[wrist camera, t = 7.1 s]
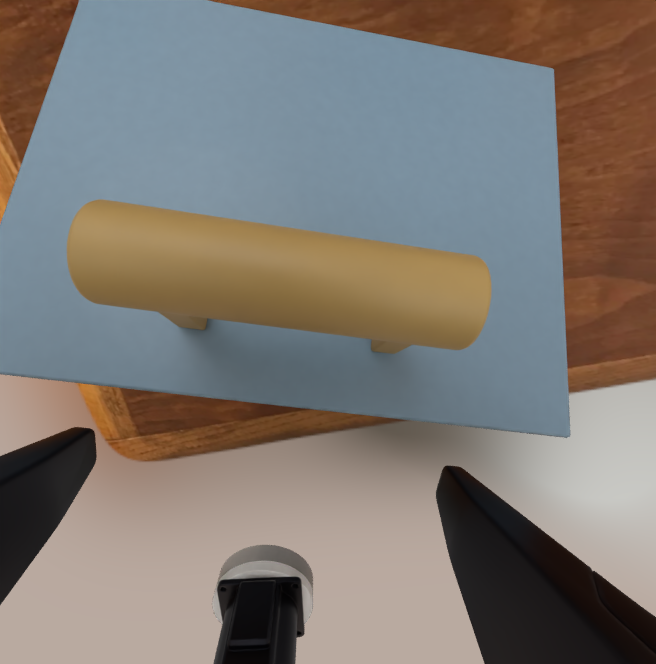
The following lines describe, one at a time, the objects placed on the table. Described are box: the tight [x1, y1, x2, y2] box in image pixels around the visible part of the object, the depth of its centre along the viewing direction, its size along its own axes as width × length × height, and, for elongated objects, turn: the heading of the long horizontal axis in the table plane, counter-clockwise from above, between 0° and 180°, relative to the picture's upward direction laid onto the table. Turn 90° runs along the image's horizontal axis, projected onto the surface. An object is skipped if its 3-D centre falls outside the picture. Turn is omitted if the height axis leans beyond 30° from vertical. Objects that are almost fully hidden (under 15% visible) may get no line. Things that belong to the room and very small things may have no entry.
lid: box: [0, 0, 570, 438], centre depth 8 cm, size 12×16×5 cm
